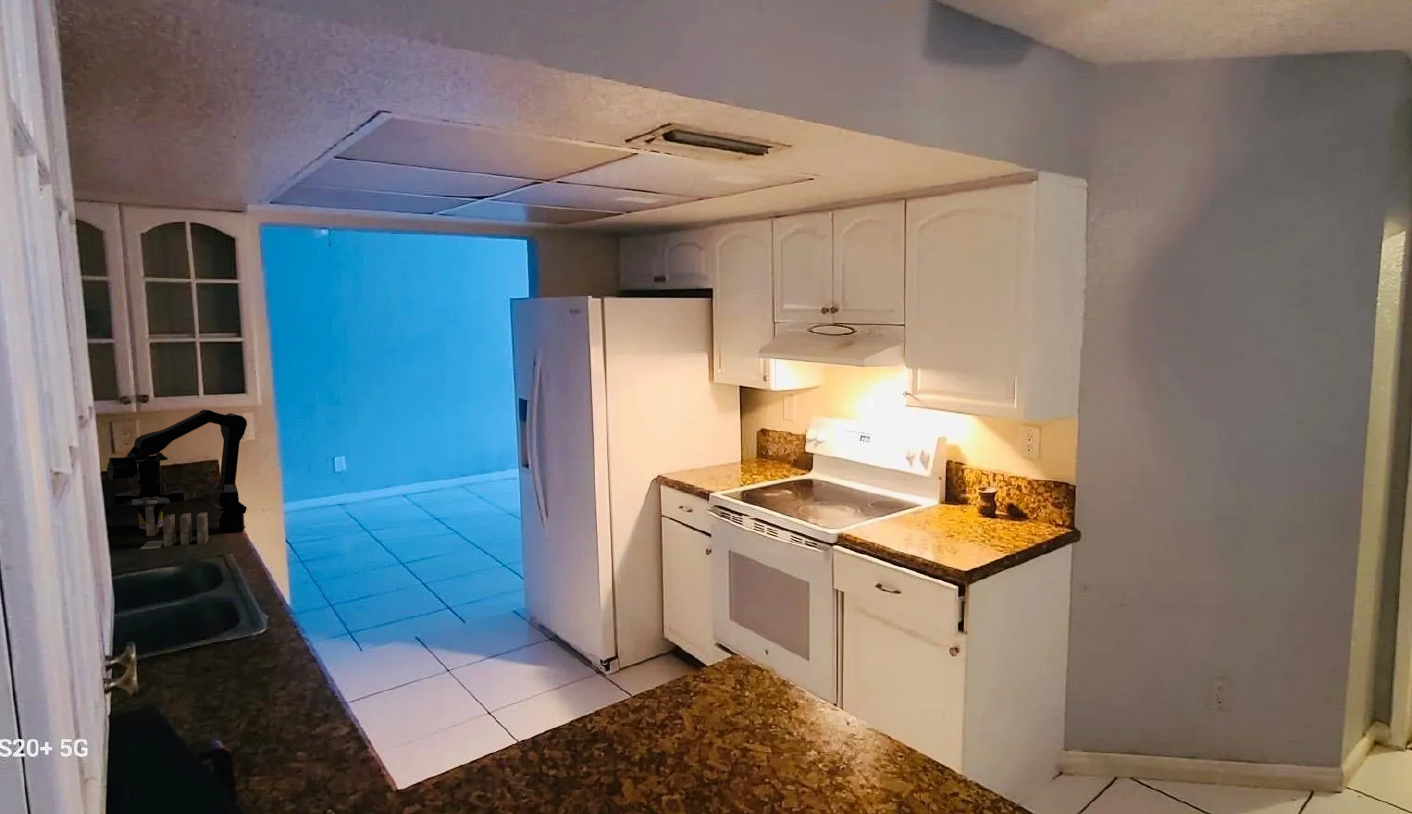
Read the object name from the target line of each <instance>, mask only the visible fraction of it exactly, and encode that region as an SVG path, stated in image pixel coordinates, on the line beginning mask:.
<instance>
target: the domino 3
mask: <svg viewBox="0 0 1412 814" xmlns="http://www.w3.org/2000/svg"><path fill="white" fill-rule="evenodd" d="M208 521H209V520H208V512H199V513H198V514H197V516H196V531H197V545H205V544H206V543H207V542H208V540H209V522H208Z"/></svg>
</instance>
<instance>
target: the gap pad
mask: <svg viewBox="0 0 1412 814" xmlns="http://www.w3.org/2000/svg"><path fill="white" fill-rule="evenodd" d="M162 546H164V540H154V541H146V542H145V543H144V544H143V545H142V546H141V547H140V548H139V550H149V549H151V550H152V549H160V548H161V547H162Z"/></svg>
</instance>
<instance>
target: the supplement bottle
mask: <svg viewBox="0 0 1412 814" xmlns="http://www.w3.org/2000/svg"><path fill="white" fill-rule="evenodd" d="M146 498H147V497H146ZM153 498H154V497H153ZM156 503H158V501H157V500H149V501H147V506H148V505H149V504H156ZM163 518H164V517H163V511H162V513H161V516H160V519H159V522H158V527H159V528H161V527H162V526H163ZM138 527H139V529H141V530H146V523H145V521H144V519H143V518H142V516H141V514H140V513H139V512H138Z"/></svg>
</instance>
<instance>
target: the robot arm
mask: <svg viewBox="0 0 1412 814" xmlns="http://www.w3.org/2000/svg"><path fill="white" fill-rule="evenodd" d="M210 423H211V424H215V425H219V426H220V433H221V436H222V439H223V444H222V454H221V463H220V464H221V465H220V472H219V473H220V474H219V475H220V476H219V482H218V484H217V486H216V487H213V486H212V487H211V496H210V498H209V500H211V502H212V505H213V506H214V507H216V508H217V509H218V512H220V517H219V518H218V521H219V523H218V524H219V531H220V532H219V533H221V534H226V533H227V534H228V533H241V532H244V530H245V528H246V525H245V514H246V512H247V509H248V507H247V506H246V505H244V504H243V503H241V502H240V500H239V498H240V496H239V491H238V488H237V485H236V482H237V481H236V480H237V479H236V478H237V470H238V469H237V468H238V460H239V451H240V443H241V441H242V439H243V437H244V436H245V432H246V430H247V426H248V421H247V418H245V417H244V416H243V415H239V414H235V413H227V414H222V413H219V412H216V411H214V410H210V409H202V410H200V411H198V412H197V413H195V414H193V415H191V416H189V417H186V418H185V419H183V420H180V421H178V422H176V423H174V424H172V425H169V426H168V427H166V428H163V429H161V430H157V431H152V432H148V433H145V434H141V435H139V436H138V437H136V438H135V440H134V443H133V444H134V445H133V447H132V448H131V449H130V451H128V453H127V454H126V456H122V457H121V456H120V457H119V456H118V457H115V456H114V457H109V458H108V463H107V467H106V473H107V477H108V479H109V481H116V480H125V479H132V478H134V477H135V476H137V475H138V476H137V477H138V480H137V484H138V485H137V486H138V487H137V488H138V492H139V493H138V494H134V495H133V492H118V493H117V494H116V495H114V496H113V497H112V498H111V499H112V500H111V501H112V502H111V503H112V506H125V505H126V504H127V503H128V502H131V506H130V507H131V508H135V509H136V511H137V512H138V514H139V513H140V514H141V516H142V518H143V519H144V521H145V523H146V512H145V508H146V507H147V501H149V500H157V501H158V503H156V504H155V523H156V524H158V522H159V519H160V516H161V513H162V512H163V510H164V508H165V506H167V505H169V504H170V503H184V502H185V501H186V500H187V499H188V498H189V492H188V491H187V490H186V489H178V490H177V489H176V490H175V489H174V490H172V491H171V492H169V493H166V489H167V483H166V482H164V481H163V479H162V473H161V461H162V462H163V461H168V460H169V458H168V457H167V456H165V455H164V454H163V452H162V451H163V450H164V449H166V448H167V447H168V446H169V445H170V444H171V443H172V442H173V441H175V440H177V439H179V438H181V437H183V436H185V435H188V434H189V433H191V432H193V431H195V430H197V429H199V428H201V427H203V426H205V425H207V424H210ZM146 497H147V498H146ZM153 497H154V498H153Z"/></svg>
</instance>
